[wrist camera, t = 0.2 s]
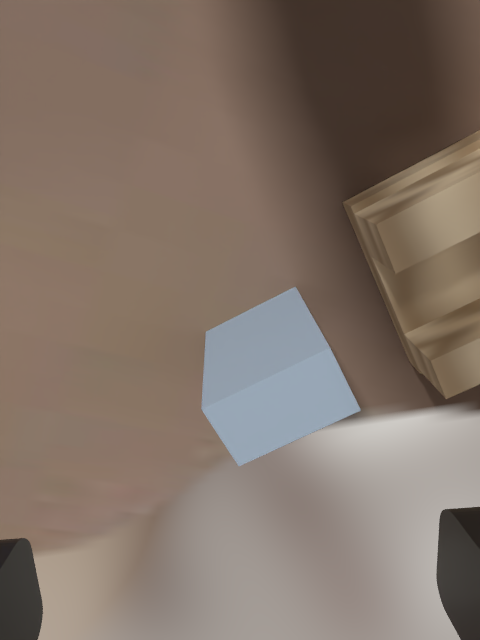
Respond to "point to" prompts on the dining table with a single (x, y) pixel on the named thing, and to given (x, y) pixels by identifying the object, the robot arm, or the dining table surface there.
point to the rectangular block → (271, 378)
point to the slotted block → (429, 260)
